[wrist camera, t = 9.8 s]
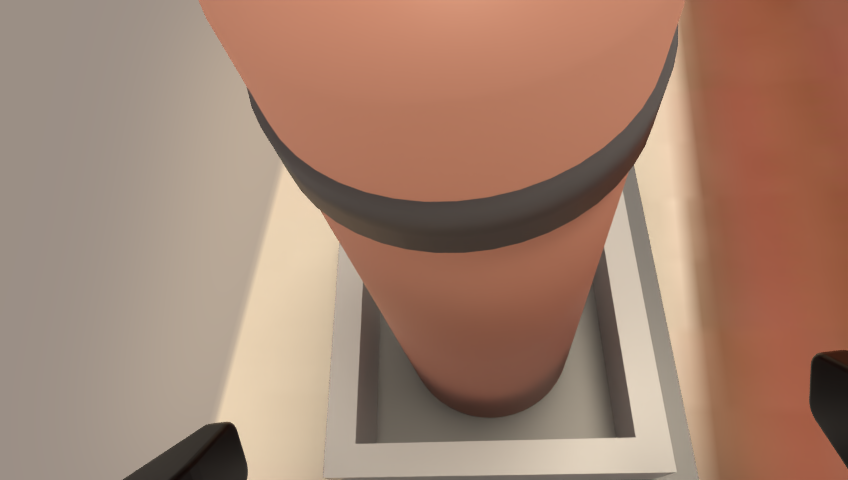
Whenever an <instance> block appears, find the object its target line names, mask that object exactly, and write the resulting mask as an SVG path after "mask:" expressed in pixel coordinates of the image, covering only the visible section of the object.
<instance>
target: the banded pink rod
mask: <svg viewBox="0 0 848 480" xmlns="http://www.w3.org/2000/svg"><path fill="white" fill-rule="evenodd" d="M199 2H200V5H201V7H202V9H203V12H204V14H205V16H206V18H207V20H208V22H209V23H210V25H211V27H212V29H213V30H214V32H215V34H216V35H217V37H218V39H219V40H220V42H221V44H222V46H223V47H224V49H225V50H226V52H227V54H228V56H229V57H230V59H231V61H232V62H233V64H234V66H235V67H236V69H237V71H238V72H239V74H240V76H241V77H242V79H243V81H244V83H245V84H246V86H247V90H248V94H249V98H250V102H251V106H252V109H253V111H254V113H255V115H256V117H257V120H258V122H259V124H260V126H261V128H262V130H263V131H264V133H265V135H266V136H267V138H268V139H269V141H270V143H271V144H272V146H273V147H274V149H275V151H276V152H277V154H278V156H279V157H280V159H281V160H282V162H283V164H284V165H285V167H286V168H287V170H288V172H289V173H290V175H291V176H292V178H293V179H294V181H295V182H296V184H297V185H298V187H299V188H300V190H301V191H302V192H303V193H304V194H305V195H306V196H307V197H308V199H309V200H310V201H311V202H312V203H313V204H314V205H315V206H316V207H317V208H318V209H320V210H321V212H322V214H323V216H324V217H325V219H326V221H327V222H328V224H329V226H330V227H331V229H332V231H333V232H334V234H335V236H336V237H337V239H338V241H339V242H340V244H341V246H342V247H343V249H344V251H345V253H346V254H347V256H348V258H349V259H350V261H351V263H352V264H353V266H354V268H355V269H356V271H357V273H358V274H359V276H360V278H361V279H362V281H363V283H364V285H365V286H366V288H367V290H368V291H369V293H370V295H371V296H372V298H373V300H374V301H375V303H376V305H377V306H378V308H379V310H380V311H381V313H382V315H383V316H384V318H385V320H386V322H387V323H388V325H389V327H390V328H391V330H392V332H393V333H394V335H395V337H396V338H397V340H398V342H399V343H400V345H401V347H402V348H403V350H404V352H405V354H406V355H407V357H408V359H409V360H410V362H411V364H412V365H413V367H414V369H415V370H416V372H417V374H418V375H419V377H420V379H421V380H422V382H423V383H424V385H425V386H426V387H427V388H428V390H429V391H430V392H431V393H432V394H433V395H434V396H435V397H436V398H437V399H439V400H440V401H441V402H443V403H444V404H446V405H447V406H449V407H450V408H452V409H455V410H457V411H459V412H461V413H465V414H468V415H471V416H477V417H487V418H494V417H504V416H508V415H513V414H516V413H518V412H521V411H524V410H526V409H527V408H529V407H531V406H533V405H534V404H536V403H537V402H538V401H540V400H541V399H542V398H543V397H544V396H545V395H546V394H548V393H549V392H550V390H551V389H552V388H553V386H554V385H555V384H556V382H557V381H558V379H559V377H560V375H561V374H562V371H563V368H564V366H565V363H566V360H567V357H568V354H569V351H570V348H571V345H572V342H573V339H574V336H575V333H576V330H577V327H578V324H579V321H580V318H581V315H582V312H583V309H584V306H585V303H586V300H587V297H588V294H589V291H590V288H591V285H592V282H593V278H594V275H595V272H596V269H597V266H598V263H599V260H600V257H601V254H602V251H603V248H604V245H605V242H606V239H607V236H608V233H609V230H610V227H611V224H612V221H613V218H614V215H615V212H616V209H617V206H618V203H619V200H620V197H621V194H622V191H623V188H624V185H625V182H626V179H627V176H628V173H629V171H630V169H631V168H632V167H633V165H634V164H635V162H636V160H637V159H638V157H639V155H640V154H641V152H642V150H643V148H644V147H645V145H646V142H647V139H648V137H649V134H650V132H651V129H652V127H653V124H654V121H655V118H656V115H657V112H658V110H659V107H660V104H661V101H662V98H663V95H664V93H665V90H666V87H667V84H668V81H669V78H670V76H671V73H672V70H673V67H674V62H675V57H676V52H677V46H678V21H679V18H680V15H681V12H682V9H683V6H684V3H685V0H199Z"/></svg>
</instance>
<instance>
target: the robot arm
mask: <svg viewBox="0 0 848 480" xmlns="http://www.w3.org/2000/svg"><path fill="white" fill-rule="evenodd" d="M809 403H810V408H811V412H812V414H813V416H814V418H815V420H816V421H817V423H818V424H819V426H820V427H821V429H822V430H823V432H824V433H825V435H826V436H827V438H828V439H829V441H830V443H831V444H832V446H833V447H834V449H835V450H836V452H837V453H838V455H839V456H840V458H841V459H842V461H843V462H844V464H845V465H846V467H847V468H848V351H847V350H838V351H830V352H822V353H817V354H816V355H815V356H814V357H813V359H812V362H811V374H810V396H809ZM247 475H248V468H247V462H246V459H245V455H244V452H243V449H242V445H241V442H240V439H239V435H238V432H237V429H236V427H235V426H234V424H232V423H231V422H221V423H213V424H208V425H205V426H203V427H202V428H200V429H199V430H197V431H196V432H194V433H193V434H191V435H190V436H188V437H187V438H186V439H184V440H182V441H181V442H179V443H178V444H176V445H175V446H173V447H172V448H170V449H169V450H167V451H165V452H164V453H163V454H161V455H159V456H158V457H156V458H155V459H153V460H152V461H150V462H149V463H147V464H146V465H144V466H143V467H141V468H140V469H138V470H137V471H135V472H134V473H132V474H131V475H129V476H128V477H126V478H124V479H123V480H247Z"/></svg>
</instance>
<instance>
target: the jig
mask: <svg viewBox="0 0 848 480" xmlns="http://www.w3.org/2000/svg"><path fill="white" fill-rule="evenodd" d="M323 478H325V479H329V480H699V477H698V472H697V467H696V462H695V458H694V453H693V448H692V443H691V438H690V433H689V429H688V424H687V419H686V414H685V409H684V405H683V400H682V395H681V390H680V385H679V381H678V376H677V371H676V366H675V361H674V356H673V352H672V347H671V342H670V337H669V332H668V328H667V323H666V318H665V313H664V308H663V304H662V299H661V294H660V289H659V284H658V279H657V275H656V270H655V265H654V260H653V255H652V251H651V246H650V241H649V236H648V231H647V227H646V222H645V217H644V212H643V207H642V202H641V198H640V193H639V188H638V183H637V178H636V174H635V169H634V165H633V167H632V168H631V169H630V171H629V173H628V176H627V179H626V182H625V185H624V188H623V191H622V194H621V197H620V200H619V203H618V206H617V209H616V212H615V215H614V218H613V221H612V224H611V227H610V230H609V233H608V236H607V239H606V242H605V245H604V248H603V251H602V254H601V257H600V260H599V263H598V266H597V269H596V272H595V275H594V278H593V282H592V285H591V288H590V291H589V294H588V297H587V300H586V303H585V306H584V309H583V312H582V315H581V318H580V321H579V324H578V327H577V330H576V333H575V336H574V339H573V342H572V345H571V348H570V351H569V354H568V357H567V360H566V363H565V366H564V368H563V371H562V374H561V375H560V377H559V379H558V381H557V382H556V384H555V385H554V386H553V388H552V389H551V390H550V392H549V393H548V394H546V395H545V396H544V397H543V398H542V399H541V400H540V401H538V402H537V403H536V404H534V405H533V406H531V407H529V408H527V409H526V410H524V411H521V412H518V413H516V414H513V415H508V416H504V417H494V418H487V417H477V416H471V415H468V414H465V413H461V412H459V411H457V410H455V409H452V408H450V407H449V406H447V405H446V404H444V403H443V402H441V401H440V400H439V399H437V398H436V397H435V396H434V395H433V394H432V393H431V392H430V391H429V390H428V388H427V387H426V386H425V385H424V383H423V382H422V380H421V379H420V377H419V375H418V374H417V372H416V370H415V369H414V367H413V365H412V364H411V362H410V360H409V359H408V357H407V355H406V354H405V352H404V350H403V348H402V347H401V345H400V343H399V342H398V340H397V338H396V337H395V335H394V333H393V332H392V330H391V328H390V327H389V325H388V323H387V322H386V320H385V318H384V316H383V315H382V313H381V311H380V310H379V308H378V306H377V305H376V303H375V301H374V300H373V298H372V296H371V295H370V293H369V291H368V290H367V288H366V286H365V285H364V283H363V281H362V279H361V278H360V276H359V274H358V273H357V271H356V269H355V268H354V266H353V264H352V263H351V261H350V259H349V258H348V256H347V254H346V253H345V251H344V249H343V247H342V246H341V244H340V242H339V255H338V269H337V283H336V298H335V312H334V326H333V341H332V355H331V369H330V384H329V398H328V412H327V426H326V441H325V455H324V469H323Z"/></svg>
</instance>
